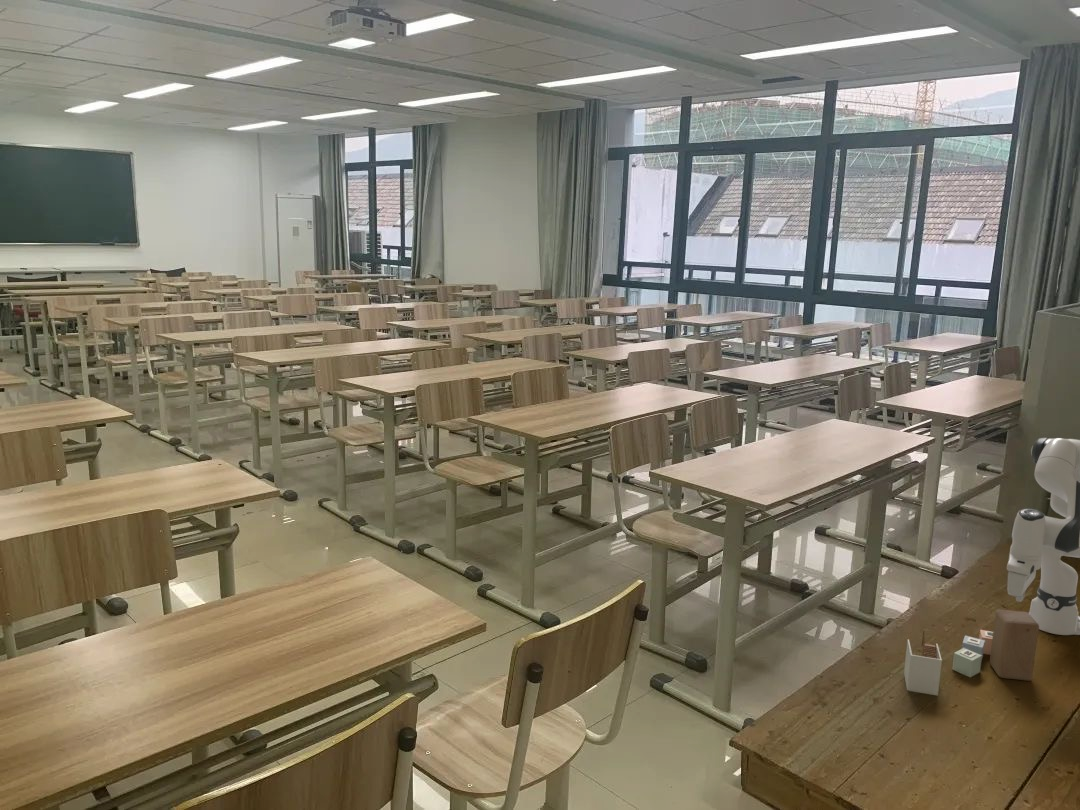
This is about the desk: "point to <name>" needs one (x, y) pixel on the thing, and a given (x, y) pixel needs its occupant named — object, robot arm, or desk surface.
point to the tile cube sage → (967, 662)
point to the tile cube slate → (974, 645)
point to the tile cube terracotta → (986, 640)
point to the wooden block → (1014, 644)
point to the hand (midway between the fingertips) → (1019, 600)
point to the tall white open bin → (923, 669)
